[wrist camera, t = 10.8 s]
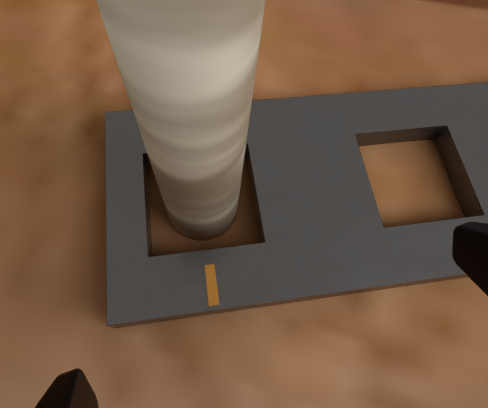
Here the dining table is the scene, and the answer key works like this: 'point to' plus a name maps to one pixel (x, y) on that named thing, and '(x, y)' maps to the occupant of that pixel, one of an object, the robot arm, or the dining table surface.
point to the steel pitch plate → (299, 206)
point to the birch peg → (190, 98)
